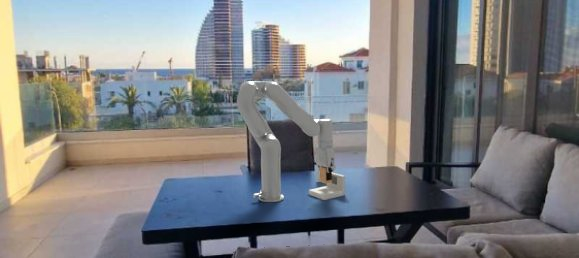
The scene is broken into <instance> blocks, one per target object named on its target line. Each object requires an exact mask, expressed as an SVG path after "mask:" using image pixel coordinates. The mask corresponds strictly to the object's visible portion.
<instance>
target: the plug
mask: <svg viewBox="0 0 579 258" xmlns="http://www.w3.org/2000/svg"><path fill="white" fill-rule="evenodd" d="M329 169H330V168H329ZM326 173H327V169H326V167H323V166H322V167H320V177H321V182H320V183H322V184H324V185H327V183H331V182H332V180H328V181H327V180H326Z"/></svg>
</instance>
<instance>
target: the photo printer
mask: <svg viewBox="0 0 579 258" xmlns="http://www.w3.org/2000/svg"><path fill="white" fill-rule="evenodd" d="M333 173H335V169H334V170H333ZM315 174H316V182H317V183H322V182H321V179H320V170H319V167H318V165H317V164H316V173H315Z"/></svg>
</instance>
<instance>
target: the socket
mask: <svg viewBox="0 0 579 258" xmlns="http://www.w3.org/2000/svg"><path fill="white" fill-rule="evenodd" d="M308 195H309V196H312V197H315V198H317V199H319V200H323V201H326V200H331V199H334V198H340V197H343V196H345V195H346V176H345V175H344V174H340V173H336V172H334V173H333V172H332V182H331V183H327V184H326V185H324V186H320V187H316V188H312V189H308Z"/></svg>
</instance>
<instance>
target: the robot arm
mask: <svg viewBox="0 0 579 258" xmlns="http://www.w3.org/2000/svg"><path fill="white" fill-rule="evenodd" d="M256 99H268V100H269V101H270V102H271V103H272V104H273V105H274V106H276V108H277V109H278V110H280V112H282V114H284V115H285V117H287V118H288V119H290V120H292V121H293V122H294V123H295V124H296V125H297V126H299V128H300V129H301V131H302V132H303V133H305V134H306V135H307V136H309V137H316V136H317V146H316V152H315V165H316V166H317V165H318V167H319V170H320V167H322V166H323V167H326V169H327V173H326V180H327V181H328V180H332V172H333V170H334V171H335V169H336V168H337V166H336V162H335V161H336V156H335V148H334V140H333V139H334V135H333V133H334V132H333V120H332V119H330V118H321V119H314V118H313V116H312V115H311V114H310V113H309V112H307V111H306V110H305V109H304V108H303V107H302V105H300V104H299V102H298V101H297V100H295V98H293V97H292V96H291V95H290V94H289V93H288V92H287V91H286V90H285V89H284V88H283V87H282V86H281V84H279V83H277V82H275V81H258V80H257V81H256V80H254V81H253V80H252V81H251V80H250V81H244V82H242V83H241V84H240V85H239V92H238V94H237V96H236V106H237V110H238V111H239V113H240V115H241V117H242V119H243V120H244V122H245V124H246V125H247V128H248V131H249V132H250V134H251V136H252V137H253V139H254V140H255V142H256V144H257V145H258V146H259V148H260V153H261V155H260V169H261V170H260V171H261V172H260V173H261V189H260V190H259V192H258V193H253V194H252V196H253V199H256V198H258V200H259V201H261V202H263V203H278V202H281V201H283V200H284V199H285V196H284V194H282V185H281V184H282V183H281V180H282V179H281V178H282V177H281V153H282V152H281V151H282V147H281V143H280V141H279V139H278V138H277V137H276V136H275V134H274V133H273V131H272V129H271V127H270V126H269V124H268V122H267V120H266V119H265V118H264V116H263V115H262V113H261V112H260V111H259V108H258V107H257V104H256ZM329 168H330V169H329ZM320 179H321V177H320Z"/></svg>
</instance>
